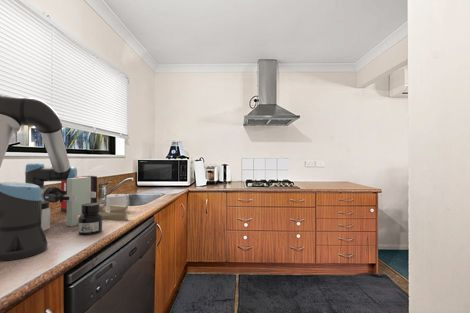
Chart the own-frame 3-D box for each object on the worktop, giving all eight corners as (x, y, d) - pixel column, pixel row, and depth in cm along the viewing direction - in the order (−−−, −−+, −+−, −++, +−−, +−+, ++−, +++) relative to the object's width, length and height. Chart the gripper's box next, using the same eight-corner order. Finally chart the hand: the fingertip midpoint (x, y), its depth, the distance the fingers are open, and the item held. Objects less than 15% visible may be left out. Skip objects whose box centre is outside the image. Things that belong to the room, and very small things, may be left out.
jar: (22, 233, 105) (23, 205, 105) (25, 229, 112) (25, 202, 112) (49, 230, 110) (49, 203, 110) (50, 226, 117) (50, 200, 117)
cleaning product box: (90, 206, 164) (90, 175, 164) (96, 208, 158) (97, 176, 158) (60, 210, 150) (61, 177, 150) (66, 212, 145) (67, 178, 145)
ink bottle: (72, 235, 104) (72, 206, 104) (84, 229, 113) (85, 202, 113) (96, 235, 104) (96, 206, 104) (106, 229, 113) (107, 202, 113)
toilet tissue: (114, 215, 140) (114, 197, 140) (100, 213, 145) (100, 195, 145) (130, 211, 150) (130, 194, 150) (116, 209, 155) (116, 193, 155)
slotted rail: (124, 220, 128) (124, 206, 128) (88, 217, 133) (88, 204, 133) (127, 219, 131) (127, 205, 131) (91, 216, 136) (91, 203, 136)
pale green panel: (71, 226, 117) (72, 178, 117) (66, 225, 118) (66, 178, 118) (90, 220, 128) (90, 176, 128) (85, 220, 129) (85, 176, 129)
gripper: (69, 198, 139) (103, 200, 133) (25, 206, 116) (64, 209, 111) (69, 184, 139) (104, 186, 133) (25, 190, 116) (64, 192, 111)
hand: (86, 196), depth 122 cm, fingers closed on pale green panel, 11 cm apart
